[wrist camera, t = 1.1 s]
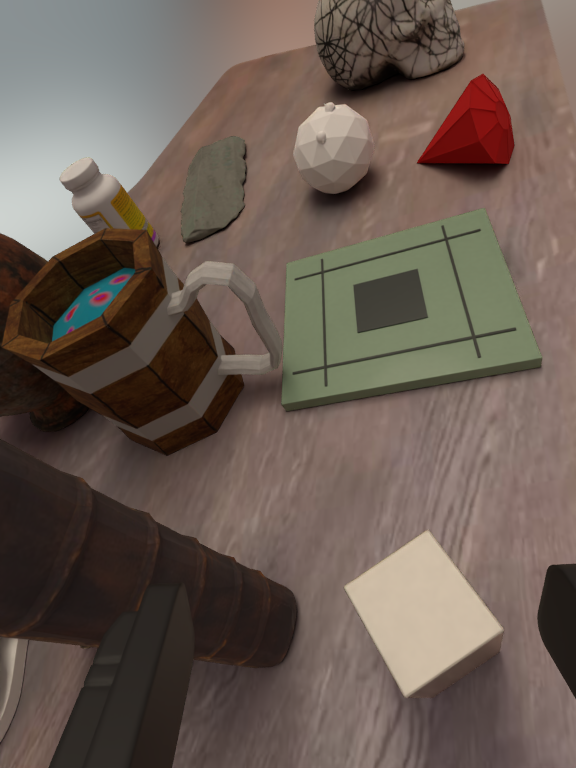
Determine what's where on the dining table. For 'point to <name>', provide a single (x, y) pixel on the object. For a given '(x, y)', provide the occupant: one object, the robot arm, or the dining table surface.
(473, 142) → the gemstone
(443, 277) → the grid board
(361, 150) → the decorative ball
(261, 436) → the dining table surface
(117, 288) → the mug
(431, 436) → the dining table surface
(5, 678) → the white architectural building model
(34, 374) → the pitcher
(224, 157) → the stone slab
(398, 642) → the beige rectangular block
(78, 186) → the supplement bottle
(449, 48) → the sculpture
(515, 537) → the dining table surface
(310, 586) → the dining table surface
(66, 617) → the book
